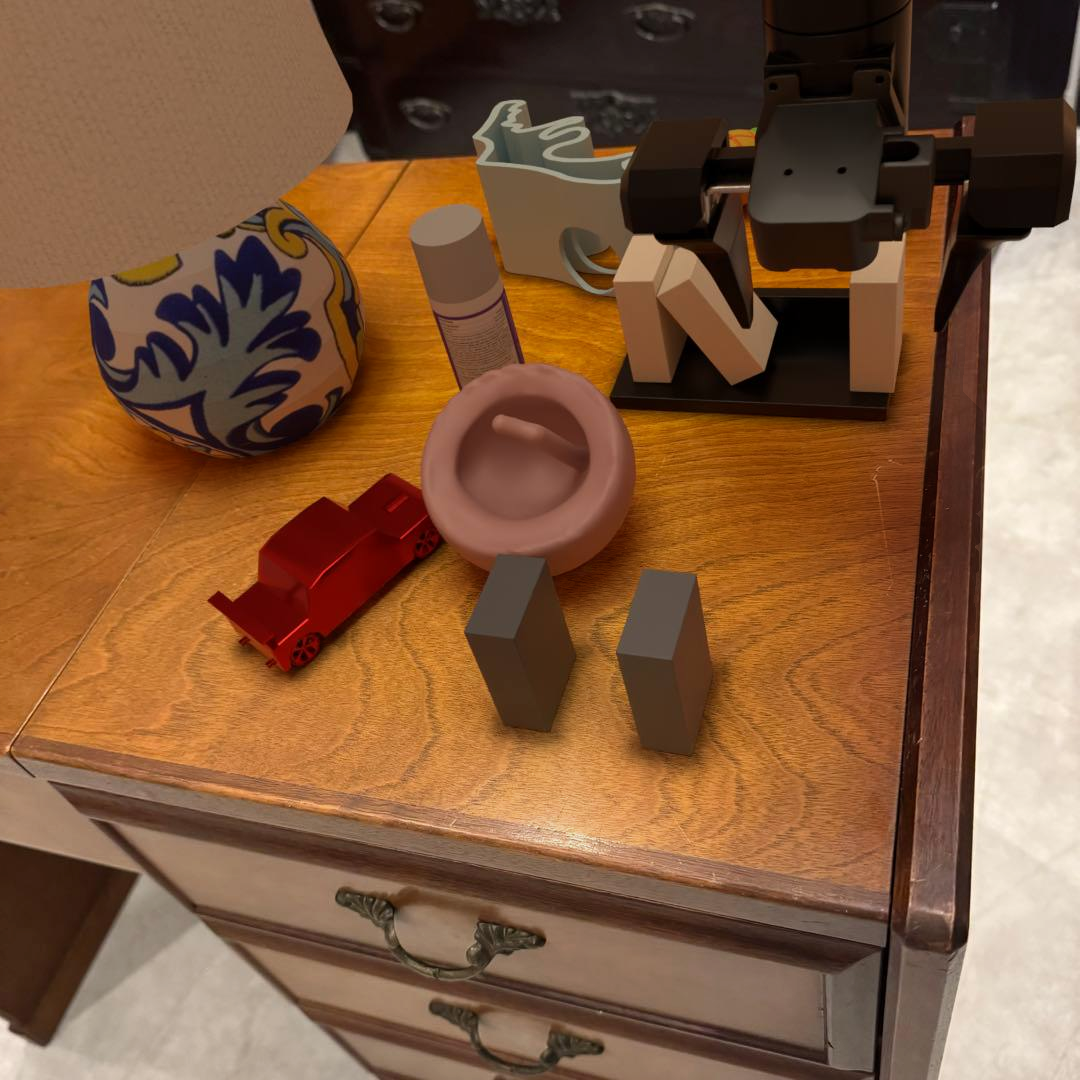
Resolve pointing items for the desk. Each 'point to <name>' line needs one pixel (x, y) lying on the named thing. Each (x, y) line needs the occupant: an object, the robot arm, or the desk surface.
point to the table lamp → (183, 207)
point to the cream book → (877, 320)
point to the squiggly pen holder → (550, 195)
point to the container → (465, 291)
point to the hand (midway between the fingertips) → (840, 325)
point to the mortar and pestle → (528, 468)
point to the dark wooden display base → (771, 368)
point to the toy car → (328, 568)
